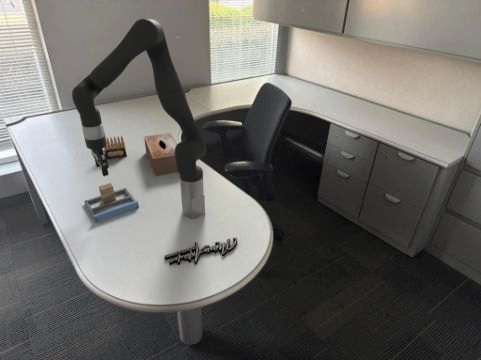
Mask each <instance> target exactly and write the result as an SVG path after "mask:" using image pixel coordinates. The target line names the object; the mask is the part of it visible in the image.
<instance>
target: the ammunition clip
mask: <svg viewBox="0 0 481 360" xmlns="http://www.w3.org/2000/svg"><path fill="white" fill-rule="evenodd" d="M106 142H107V145H106V146H105V147H104V148H103V150H104V151H105V154H106V155H107V160H112V159H119V158H125V157H126V158H127V157H128V154H127V150H126V144H125V141H124V137H123V135H120V136H119V135H117V137H116V136H114V137H113V138H112V136H110V138H108V137H106Z"/></svg>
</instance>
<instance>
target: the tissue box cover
mask: <svg viewBox="0 0 481 360" xmlns="http://www.w3.org/2000/svg"><path fill="white" fill-rule="evenodd" d="M143 141H144V146H145V153H146V156H147V159H148V161H149V164H150V167H151V170H152V172H153V175H154V177H158V176H163V175H164V174H165V175H170V174H175V173H178V171H177V166H176V159H175V147H176V145H177V144H178V143H177V141H176V138H175V137H174V136H173V134H172V132H167V133H166V132H165V133H157V134H152V135H144V136H143Z"/></svg>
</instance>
